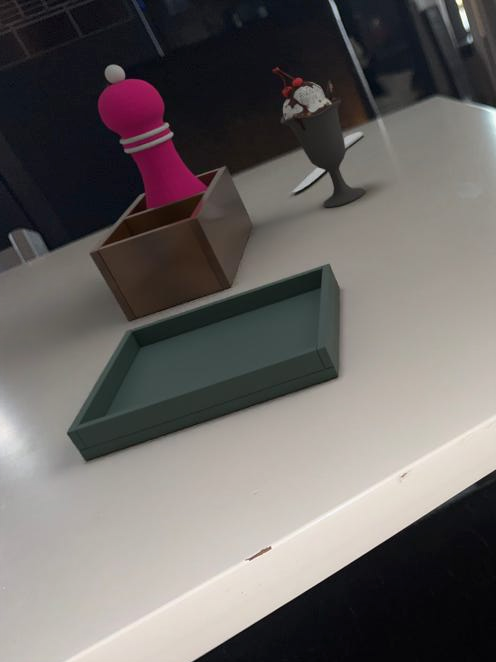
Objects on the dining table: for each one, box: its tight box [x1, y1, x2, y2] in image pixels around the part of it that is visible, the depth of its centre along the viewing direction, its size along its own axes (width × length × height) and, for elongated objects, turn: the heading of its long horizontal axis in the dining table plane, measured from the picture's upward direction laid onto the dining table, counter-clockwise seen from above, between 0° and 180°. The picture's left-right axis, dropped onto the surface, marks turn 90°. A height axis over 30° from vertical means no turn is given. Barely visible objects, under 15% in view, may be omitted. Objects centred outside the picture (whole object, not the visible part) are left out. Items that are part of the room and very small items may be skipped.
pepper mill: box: [97, 64, 207, 210], centre depth 78 cm, size 7×7×20 cm
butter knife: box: [291, 131, 364, 194], centre depth 103 cm, size 1×24×3 cm
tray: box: [66, 263, 341, 462], centre depth 56 cm, size 17×15×2 cm
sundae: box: [271, 66, 366, 208], centre depth 82 cm, size 7×7×15 cm
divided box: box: [89, 165, 253, 322], centre depth 78 cm, size 10×19×7 cm, turn 10°
